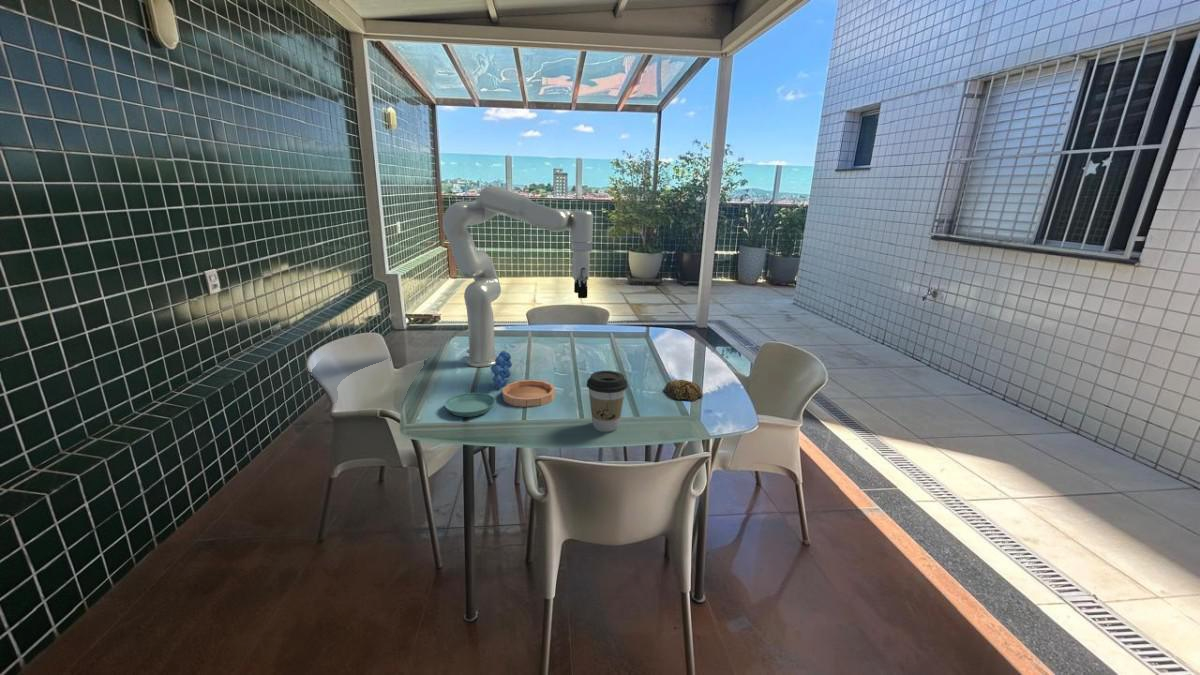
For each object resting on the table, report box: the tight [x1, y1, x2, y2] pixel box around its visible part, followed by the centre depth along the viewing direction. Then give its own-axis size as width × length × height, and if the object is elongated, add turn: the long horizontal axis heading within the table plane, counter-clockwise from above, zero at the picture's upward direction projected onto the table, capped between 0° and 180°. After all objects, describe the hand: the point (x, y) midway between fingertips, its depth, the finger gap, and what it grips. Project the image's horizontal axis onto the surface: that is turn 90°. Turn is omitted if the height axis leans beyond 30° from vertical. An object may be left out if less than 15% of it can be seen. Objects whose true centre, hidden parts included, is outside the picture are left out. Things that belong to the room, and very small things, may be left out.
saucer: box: [444, 392, 496, 418], centre depth 145 cm, size 15×15×3 cm
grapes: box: [489, 350, 513, 389], centre depth 163 cm, size 12×7×12 cm, turn 167°
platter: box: [501, 379, 556, 408], centre depth 156 cm, size 16×16×2 cm
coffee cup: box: [586, 370, 629, 433], centre depth 134 cm, size 11×11×15 cm
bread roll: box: [664, 379, 703, 402], centre depth 160 cm, size 13×12×5 cm
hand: (580, 295), depth 174 cm, fingers open, 9 cm apart
